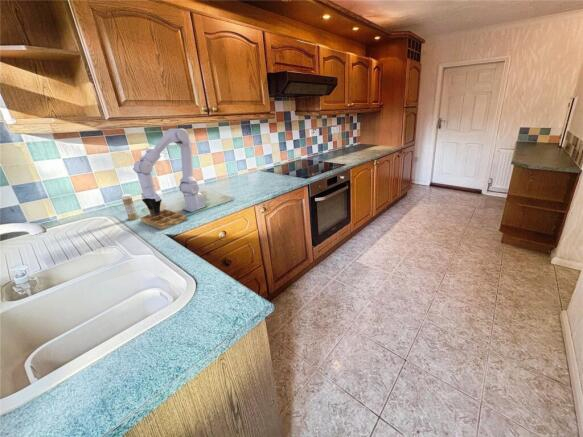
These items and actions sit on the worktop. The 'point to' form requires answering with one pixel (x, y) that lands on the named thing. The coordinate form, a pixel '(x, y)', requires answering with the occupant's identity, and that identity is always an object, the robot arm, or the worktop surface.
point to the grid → (164, 219)
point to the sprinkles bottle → (129, 206)
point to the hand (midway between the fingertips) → (155, 212)
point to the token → (153, 213)
